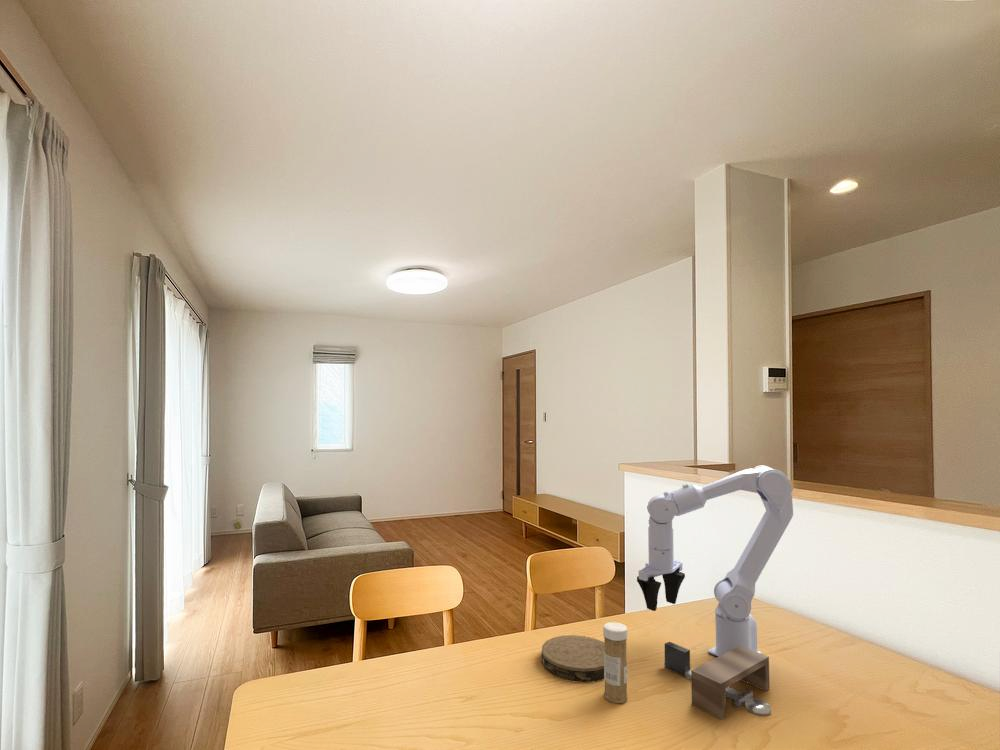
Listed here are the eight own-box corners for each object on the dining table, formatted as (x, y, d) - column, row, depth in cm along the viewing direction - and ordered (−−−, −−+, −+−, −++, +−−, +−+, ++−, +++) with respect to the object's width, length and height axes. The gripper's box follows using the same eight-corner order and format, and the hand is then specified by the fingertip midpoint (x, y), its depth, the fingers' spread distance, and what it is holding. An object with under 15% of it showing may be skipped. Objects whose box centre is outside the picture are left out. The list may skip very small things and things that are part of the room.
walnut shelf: (740, 676, 108) (739, 645, 109) (769, 688, 103) (768, 656, 104) (691, 704, 97) (691, 670, 98) (721, 719, 93) (720, 683, 93)
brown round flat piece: (592, 644, 123) (592, 631, 123) (629, 677, 108) (629, 662, 108) (530, 653, 118) (530, 639, 118) (560, 689, 103) (560, 673, 103)
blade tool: (660, 669, 111) (660, 645, 111) (674, 663, 114) (673, 639, 114) (739, 707, 97) (738, 679, 97) (752, 698, 100) (752, 672, 100)
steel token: (752, 701, 99) (752, 695, 99) (775, 712, 96) (775, 706, 96) (740, 708, 97) (740, 703, 97) (763, 720, 93) (763, 714, 93)
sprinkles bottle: (632, 699, 99) (632, 627, 100) (615, 707, 96) (615, 632, 97) (615, 689, 102) (614, 619, 103) (598, 695, 100) (598, 624, 101)
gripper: (664, 539, 131) (665, 594, 130) (627, 548, 122) (628, 607, 121) (689, 545, 125) (690, 603, 124) (652, 555, 116) (653, 617, 115)
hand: (661, 606), depth 122 cm, fingers open, 7 cm apart
